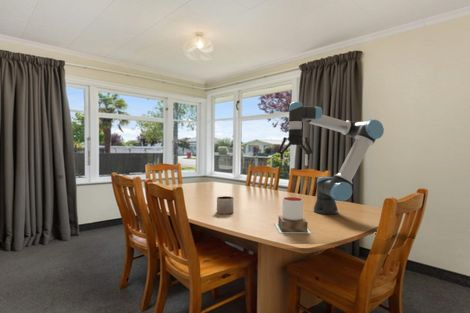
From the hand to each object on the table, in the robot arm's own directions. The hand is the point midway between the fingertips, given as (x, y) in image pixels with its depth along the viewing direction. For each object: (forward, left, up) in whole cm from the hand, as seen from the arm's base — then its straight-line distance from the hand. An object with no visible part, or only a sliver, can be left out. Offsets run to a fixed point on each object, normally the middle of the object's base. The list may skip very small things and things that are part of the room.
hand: (294, 165), depth 161 cm
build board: (+6, +24, -32) cm, 40 cm away
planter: (+41, -14, -32) cm, 54 cm away
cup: (+6, +24, -25) cm, 35 cm away
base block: (+6, +24, -30) cm, 39 cm away
